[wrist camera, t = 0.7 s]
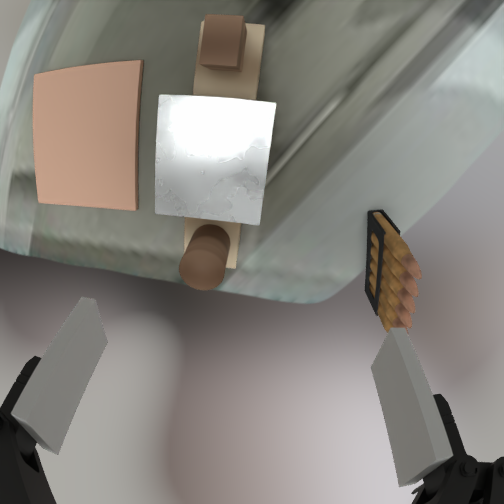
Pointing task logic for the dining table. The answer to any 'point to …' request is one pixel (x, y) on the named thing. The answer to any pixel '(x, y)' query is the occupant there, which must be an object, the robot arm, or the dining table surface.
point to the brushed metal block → (212, 157)
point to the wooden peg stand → (223, 85)
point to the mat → (88, 135)
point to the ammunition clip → (390, 272)
